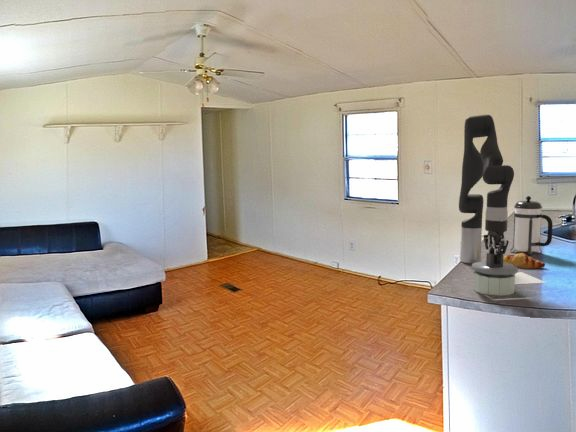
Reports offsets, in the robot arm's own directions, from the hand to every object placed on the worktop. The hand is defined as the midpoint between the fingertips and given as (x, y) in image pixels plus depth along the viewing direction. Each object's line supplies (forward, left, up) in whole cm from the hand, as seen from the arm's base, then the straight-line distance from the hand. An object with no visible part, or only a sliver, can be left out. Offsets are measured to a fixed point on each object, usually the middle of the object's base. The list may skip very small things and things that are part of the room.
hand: (494, 262), depth 165 cm
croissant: (-33, +31, -12) cm, 47 cm away
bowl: (0, 0, -11) cm, 11 cm away
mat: (-13, +17, -11) cm, 24 cm away
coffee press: (-57, +52, -11) cm, 78 cm away
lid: (0, 0, -3) cm, 3 cm away
